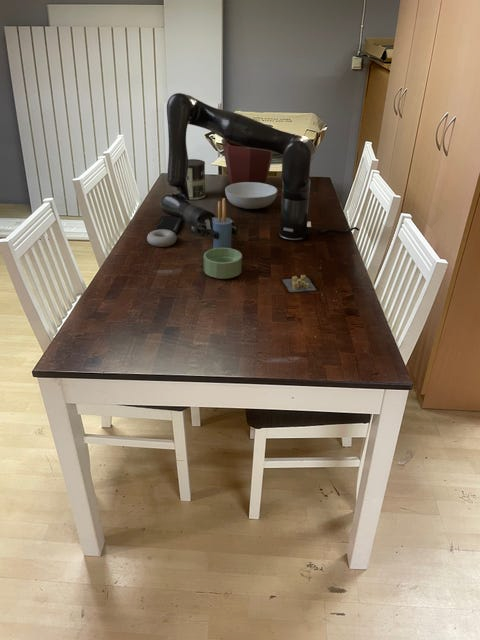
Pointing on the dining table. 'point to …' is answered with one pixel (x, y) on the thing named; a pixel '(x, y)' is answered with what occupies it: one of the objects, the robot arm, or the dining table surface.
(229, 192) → the serving bowl
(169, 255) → the dining table surface
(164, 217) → the phone
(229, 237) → the breadstick jar
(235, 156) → the bucket
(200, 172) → the coffee can
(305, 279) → the carved rune cylinders
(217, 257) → the bowl
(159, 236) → the donut
